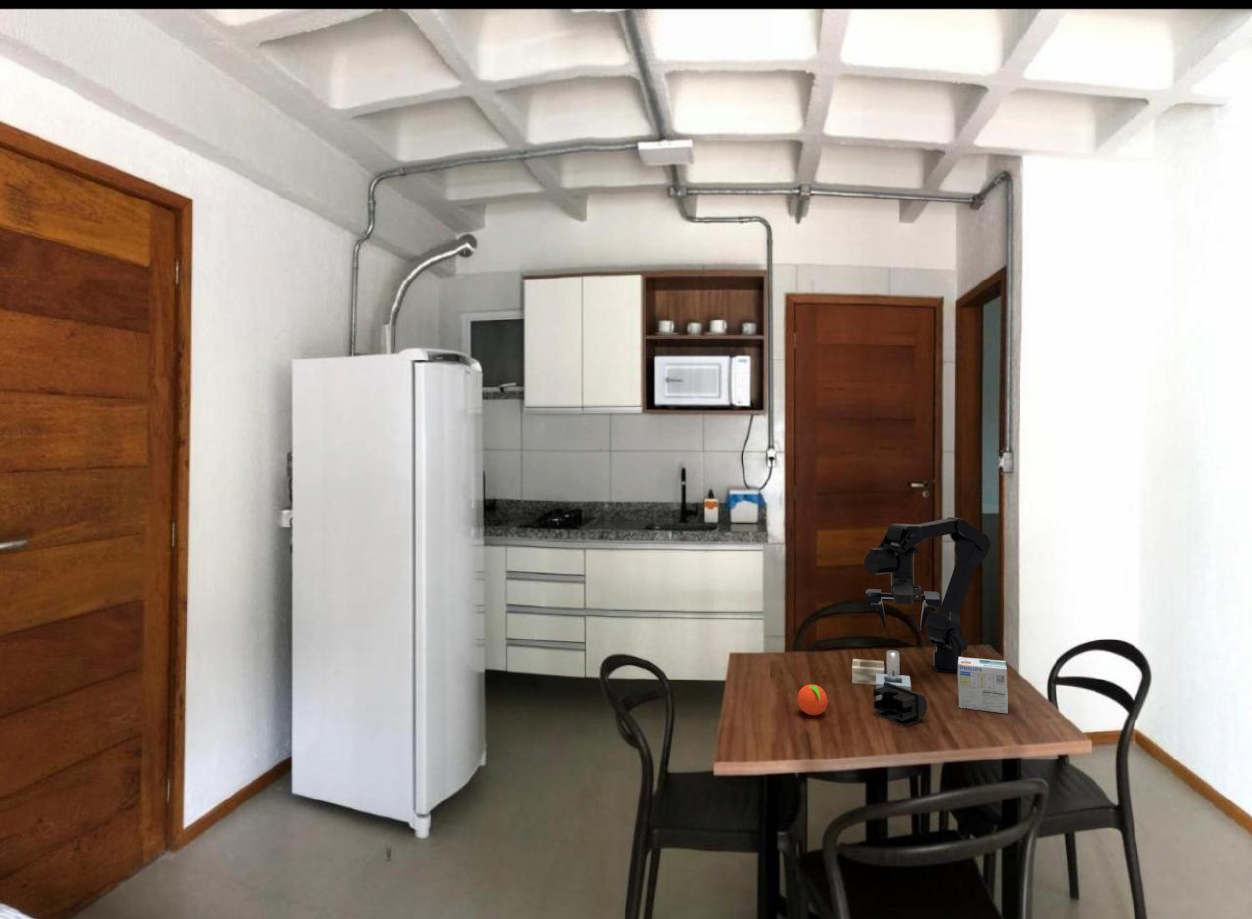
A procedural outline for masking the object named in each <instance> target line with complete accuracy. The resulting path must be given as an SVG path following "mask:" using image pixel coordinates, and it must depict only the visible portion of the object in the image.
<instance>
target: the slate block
mask: <svg viewBox="0 0 1252 919" xmlns="http://www.w3.org/2000/svg"><path fill="white" fill-rule="evenodd" d="M884 682H887V673H884V674H877V673H876V685H875V686H876V687H875V689H877V688H881V687H884ZM888 683H891V684H894V685H897V686H899V687H902V688H905V689H908V690H910V691H912V683H911V677H910V675H902V674H901V675H900V683H893V682H888ZM875 698H876V700H880V699H881V698H882V695H878V696H875ZM876 700H875V701H876Z"/></svg>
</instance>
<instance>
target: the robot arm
mask: <svg viewBox="0 0 1252 919" xmlns="http://www.w3.org/2000/svg"><path fill="white" fill-rule="evenodd" d="M948 535H949V538H950V540H952V541H953V542H954V543H955V546H954V554H955V557H956V562H955V565H954V568H953V571H952V574H951V576H950V580H949V582H948V586H947V587H946V591H945V594H944V597H943V599H942V597H941V593H939V592H938V591H927V590H925V591H923V594H922V585H915V576H914V575H915V563H914V560H915V559H914V557H915V556H914V555H920V554H921V551H920V550H919V549H918V548H917V547H916V546H917V545H919V544H921V543H922V542H923V541H925V540H928V539H932V538H938V537H943V536H948ZM990 548H991V541H990V538H989V537H988V536H987V535H986V534H985V533H984V534H983V532H981V531H980V530H979V529H977V528H975V527H974V526H972V525H971V524H969V523H968V522H967V521H966V520H965V519H963V518H962V517H961V518H960V517H951V516H949V517H946V518H943V519H938V520H932V521H929V522H927V521H926V522H922V523H919V524H912V523H911V524H907V523H892V524H890V525H889V526H888V529H887V531H886V533H885V535H884V536H883V539H882V540H881V542H880V543H879V546H878V548H869V553H867V554H866V555H865V559H864V560H863V562H864V563H863V564H864V568H865V570H866V572H867V573H868V574H869V575H870V576H875V575H885V574H890V584H891V586H890V589H891V590H890V592H882V589H881V588H880V589H879V588H878V589H877V588H868V589H867V590H865V603H866V604H870V606H871V607H875V609H876V611H877V612H878V615H879V617H880V620H881V623H882V626H883V629H885V630H886V628H887V626H886V624H887V623H886V616H885V609H884V604H883V601H893V603H894V605H896V606H897V605H899V606H900V605H908V606H913V605H914V602H920V603H922V607H921V615H920V631H921V632H922V631H923V630H924V628H925V632H926V635H927V637H928V639H929V643H930V645H933V646H935V649H934V650H933V666H934V668H935V669H936V671H937V672H939V671H941V673H953V672H955V674H958V658H959V657H963V655H962V653H963V652H964V651H968V648H969V641H968V640H967V639H966V638H965V637H964V636H963V635H962V634H961V632H962V627H963V624H962V621H961V616H960V614H961V611H962V608H963V605H964V602H965V600H966V597H967V593H968V591H969V587H970V585H971V582H972V578H973V575H974V574H975V573H974V572H975V570H976V567H977V566H978V565H979V564H980V563H981V562H983V561H984V560H985V559H986V556H987V555H988V553H989V551H990ZM937 607H940V608H938V610H936V609H937ZM933 610H936V611H935V612H934V611H933ZM927 618H928V619H927ZM925 626H926V627H925Z"/></svg>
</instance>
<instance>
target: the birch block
mask: <svg viewBox="0 0 1252 919" xmlns="http://www.w3.org/2000/svg"><path fill="white" fill-rule="evenodd" d="M851 665H852V666H851V678H852V679H851V683H852V684H860V685H861V684H862V685H872V686H873V685H875V686H876V673H877V674H885V663H884V660H873V659H860V658H859V659H858V658H852V664H851Z"/></svg>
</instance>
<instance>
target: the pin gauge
mask: <svg viewBox="0 0 1252 919" xmlns="http://www.w3.org/2000/svg"><path fill="white" fill-rule="evenodd" d="M886 674H887V682H893V683H900V674H901V673H900V652H899V651H898V650H894V649H893V650H889V649H888V650H886Z"/></svg>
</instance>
